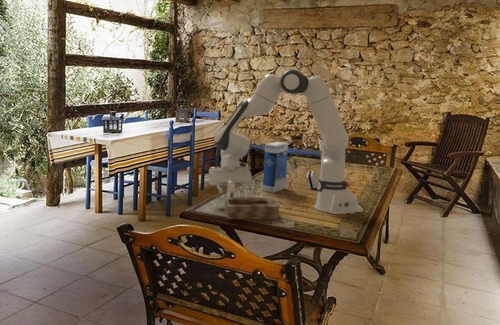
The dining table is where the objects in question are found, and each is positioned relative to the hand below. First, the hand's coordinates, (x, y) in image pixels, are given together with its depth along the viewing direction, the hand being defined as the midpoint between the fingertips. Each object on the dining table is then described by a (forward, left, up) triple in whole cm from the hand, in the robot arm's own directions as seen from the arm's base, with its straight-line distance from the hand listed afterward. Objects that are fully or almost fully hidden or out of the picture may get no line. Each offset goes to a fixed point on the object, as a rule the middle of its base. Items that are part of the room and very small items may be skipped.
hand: (231, 192), depth 200 cm
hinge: (-52, -42, -7) cm, 67 cm away
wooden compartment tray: (-8, +13, -7) cm, 16 cm away
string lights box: (-27, -32, -7) cm, 43 cm away
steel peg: (0, 0, -7) cm, 7 cm away
